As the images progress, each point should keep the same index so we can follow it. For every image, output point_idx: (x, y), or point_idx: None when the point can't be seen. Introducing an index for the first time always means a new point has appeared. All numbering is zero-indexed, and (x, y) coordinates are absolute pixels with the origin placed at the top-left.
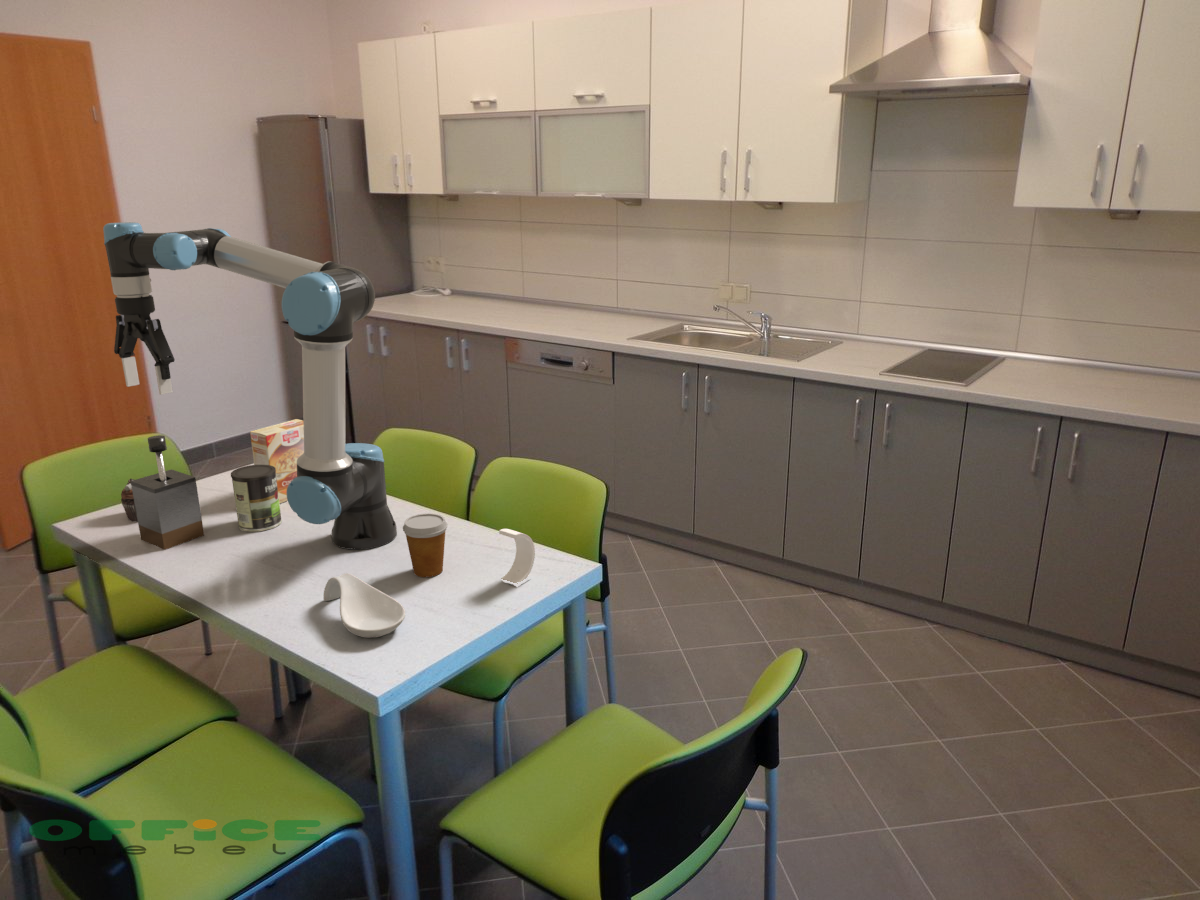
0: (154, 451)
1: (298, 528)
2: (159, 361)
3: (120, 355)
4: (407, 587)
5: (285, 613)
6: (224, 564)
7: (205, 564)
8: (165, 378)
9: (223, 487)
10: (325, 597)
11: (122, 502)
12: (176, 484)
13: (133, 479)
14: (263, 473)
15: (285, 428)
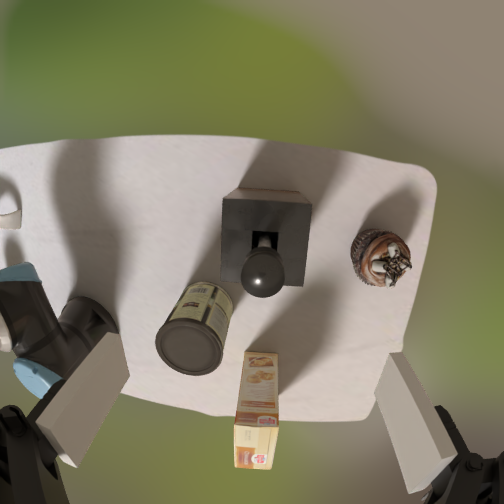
0: (252, 249)
1: (157, 316)
2: (6, 433)
3: (470, 465)
4: (8, 262)
5: (25, 176)
6: (134, 203)
7: (151, 190)
8: (57, 385)
9: (357, 357)
10: (17, 210)
11: (390, 232)
12: (222, 242)
13: (405, 268)
14: (167, 349)
15: (240, 448)
